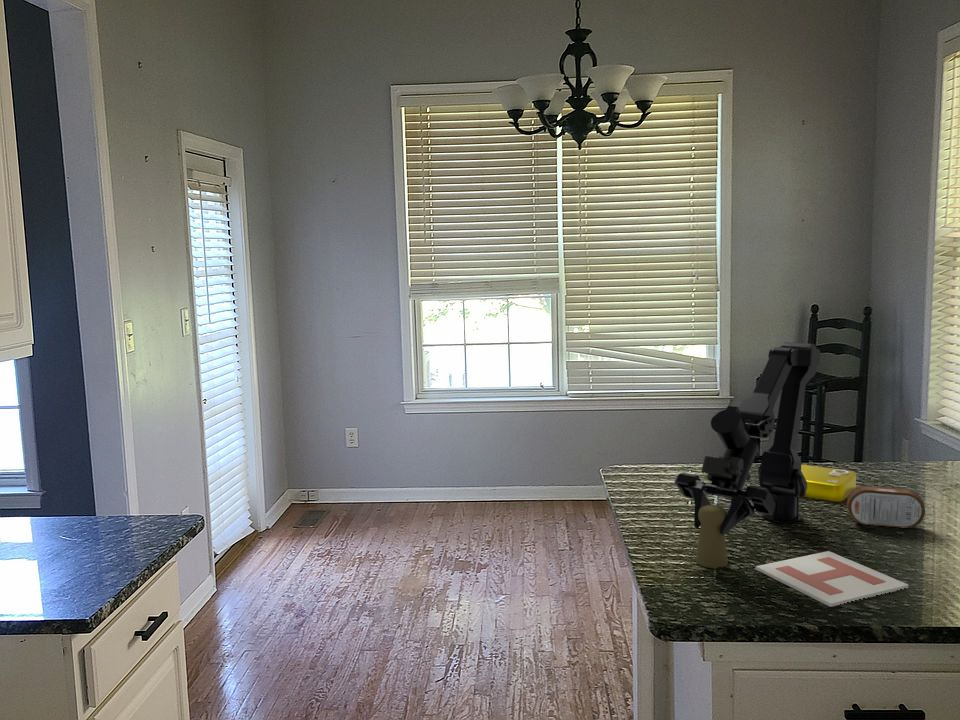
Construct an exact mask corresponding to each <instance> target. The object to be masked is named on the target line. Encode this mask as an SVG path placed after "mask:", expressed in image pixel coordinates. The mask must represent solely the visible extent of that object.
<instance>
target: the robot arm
mask: <svg viewBox="0 0 960 720" xmlns="http://www.w3.org/2000/svg"><path fill="white" fill-rule="evenodd" d="M821 356H822V355H821V350H820V349H819V348H817V347H816V345H815V344H814V343H806V342H805V343H802V342H789V341H787V342H784V343H783V344H782V345H780V346H774V347H771V348H770V349H769V351H768V360H767V362H766V364H765V366H764V367H763V370H762V371H761V374H760V377H759V378H758V380H757V383H756V384H755V387H754V390H753V391H752V393H751V394H750V396H748V397H747V398H746V399H745V398H744V400H742V401H740V403H739V404H738V406H736V405H727V406H726V409H723V410H720V411H719V412H717V413H716V414H715V415H714V416H712V418H711V420H710V426H711V427H710V428H712V430H713V433H714V434H715V436H716V438H717V439H718V441H719V443H720V444H721V446H722V448H723V447H724V449H725V450H724V452H723V455H722V456H718V457H715V456H710V455H704V457H703V463H702V467H701V473H705V474H707V475H706V478H707V480H708V481H710V482H711V483H705V481H702V480H701V478H700V477H699V475H697V474H694V473H690V472H689V473H688V472H680V473H678V474H677V476H676V477H675V479H674V480H675V481H674V484H675V485H676V487H677V488H678V490H679V492H680V493H681V495H682V496H683V497H685V498H687V499H692V500H694V503H693V504H694V519H693V521H694V522H693V523H694V524H693V525H694V528H695V529H697V530H698V529H699V528H700V527H701V522H700V520H699V518H698V513H699V509H700V508H701V507H702V506H705V505H712V504H711V502H710V501H709V499H708V498H709V496H710V495H712V496H716V497H722V498H727V499H731V501H730V507H729V509H728V511H727V512H726V517H725V520H724V522H723V524H722V527H721V530H720V533H721V535H725V534H727V533H728V532H730V531H731V529H733V528H734V527H735V526H736V525H737V524H739V523H740V522H742V521H743V520H745V519H746V518H747V517H749V516H755V514H756V513H759V514H761V517H762V518H765V519H767V520H769V521H772V522H774V523H777V524H780V525H786V524H791V523H796V522H802V521H804V519H805V518H804V517H802V516H800V515H799V509H800V507H799V506H800V505H799V503H800V497H804V496H805V495H806V490H807V481H806V479H805V477H804V475H803V473H802V471H801V464H802V461H801V458H800V456H799V454H798V451H797V449H796V448H797V442H798V438H799V430H800V425H801V419H802V412H803V405H804V398H805V393H806V387H807V384H808V383H809V382H810V380H812V378H814V376H815V375H816V372H817V368H818V366H819V364H820V362H821ZM779 396H780V399H779V405H778V411H777V417H776V416H775V413H774V407H775V405H776V402H777V401H778V398H779ZM775 422H776V423H775ZM774 429H775V430H774ZM773 431H774V436H773V442H772V445H771V446H770V448H768V450H764V451H763V453H762V454H761V451H760V449H759V448H760V446H759V444H758V442H757V441H756V439H757V438H758V439H768V437H769V436H770V435H771V434H772V433H773ZM755 438H756V439H755ZM760 456H761V462H760V465H759V467H758V469H757V471H758V472H757V476H758V482H759V486H758V485H757V486H756V485H753V484H752V485H748V486H746V488H745V490H743V488H744V486H745V484H746V482H747V481H748V482H749V481H750V479H751V475H750V471H751V468H752V466H753V464H754V461H755V458H756V457H760ZM755 510H756V512H755Z"/></svg>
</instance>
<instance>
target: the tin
mask: <svg viewBox="0 0 960 720" xmlns="http://www.w3.org/2000/svg"><path fill="white" fill-rule="evenodd" d="M846 509H847V511H848V513H849V515H850V517H851V518H852V520H854V521H855V522H857V523H858V524H860V525H863V526H867V525H871V526H870V527H878V526H886V527H885V528H889V527H905V528H906V527H907V528H909V529H913V528H915V527H917V526H918V525H919V524H921V523H922V521H923V519H924V517H925V514H926V507H925V505H924V501H923V499H922V498H921V496H920V495H919V494H918V493H917V492H916V491H914V490H911V489H908V488H899V487H898V488H897V487H890V486H889V487H887V486H876V485H862V486H858V487H856V489H854V490H853V491H852V492H851V493H850V494H849V496H848V497H847V498H846ZM872 525H873V526H872ZM887 526H889V527H887Z"/></svg>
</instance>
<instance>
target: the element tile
mask: <svg viewBox="0 0 960 720" xmlns="http://www.w3.org/2000/svg"><path fill="white" fill-rule="evenodd" d="M801 471H802V473H803V475H804V477H805V479H806V481H807V490H806V495H805V496H803V497H804V498H805V497H806V498H810V499H818V500H824V501H831V502H843V501H846V500H847V498H848V496H849V494H850V493H851V492H852V491H853V490H854V489H856V488H857V487H856V486H857V473H856V472H854V471H852V470H845V469H839V468H838V469H837V468H829V467H821V466H815V465H809V464H802V463H801Z"/></svg>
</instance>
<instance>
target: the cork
mask: <svg viewBox="0 0 960 720" xmlns="http://www.w3.org/2000/svg"><path fill="white" fill-rule="evenodd" d="M726 515H727V511H726V510H725V508H724V507H722V506H720V505H717V504H715V505H714V504H711V505H705V506H702V507H701V508H700V509H699V513H698V518H699V520H700V522H701V525H700V527H699V528H700V529H699V534H698V541H697V546H696V553H695V554H696V555H695V561H696V562H695V561H694V562H695V563H696V564H697V563H698V564H699V565H698V564H697V565H698V566H701V567H705V568H709V569H719V568H718V567H721V568H724V566H725V567H727V566H728V564H729V563H728V560H729V559H728V553H727V545H726V537H725V536H726V535H725V534H724V535H721V533H720V530H721V527H722V524H723V522H724V520H725V517H726Z"/></svg>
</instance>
